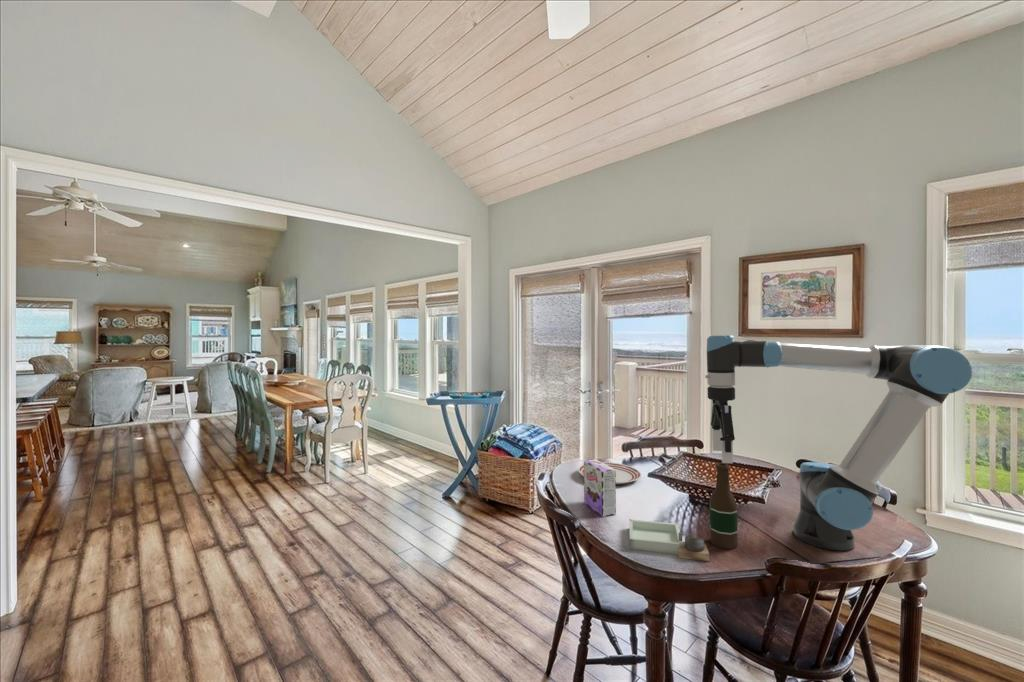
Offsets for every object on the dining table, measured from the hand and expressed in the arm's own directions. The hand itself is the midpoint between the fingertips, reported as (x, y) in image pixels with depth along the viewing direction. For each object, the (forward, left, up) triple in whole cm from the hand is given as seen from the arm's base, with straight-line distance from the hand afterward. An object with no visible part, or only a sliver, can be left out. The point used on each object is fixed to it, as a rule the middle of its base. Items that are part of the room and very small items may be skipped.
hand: (722, 456), depth 130 cm
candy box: (+38, -18, -27) cm, 50 cm away
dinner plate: (+36, -54, -27) cm, 70 cm away
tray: (+20, +3, -26) cm, 33 cm away
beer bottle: (0, 0, -27) cm, 27 cm away
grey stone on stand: (+10, +9, -26) cm, 30 cm away
